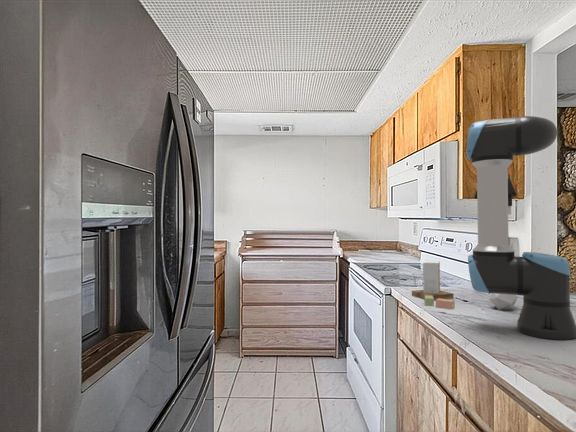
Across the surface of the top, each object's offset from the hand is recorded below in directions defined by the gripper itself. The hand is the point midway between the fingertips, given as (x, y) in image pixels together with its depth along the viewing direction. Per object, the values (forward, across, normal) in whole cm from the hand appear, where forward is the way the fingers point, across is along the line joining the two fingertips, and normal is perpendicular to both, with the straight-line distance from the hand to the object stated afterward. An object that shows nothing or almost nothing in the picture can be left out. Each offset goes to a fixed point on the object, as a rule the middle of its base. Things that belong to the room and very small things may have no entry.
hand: (494, 214), depth 170 cm
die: (+35, -17, +13) cm, 41 cm away
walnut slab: (+35, +10, +24) cm, 43 cm away
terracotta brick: (+35, -8, +32) cm, 48 cm away
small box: (+33, +10, +24) cm, 42 cm away
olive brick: (+35, -1, +34) cm, 48 cm away
